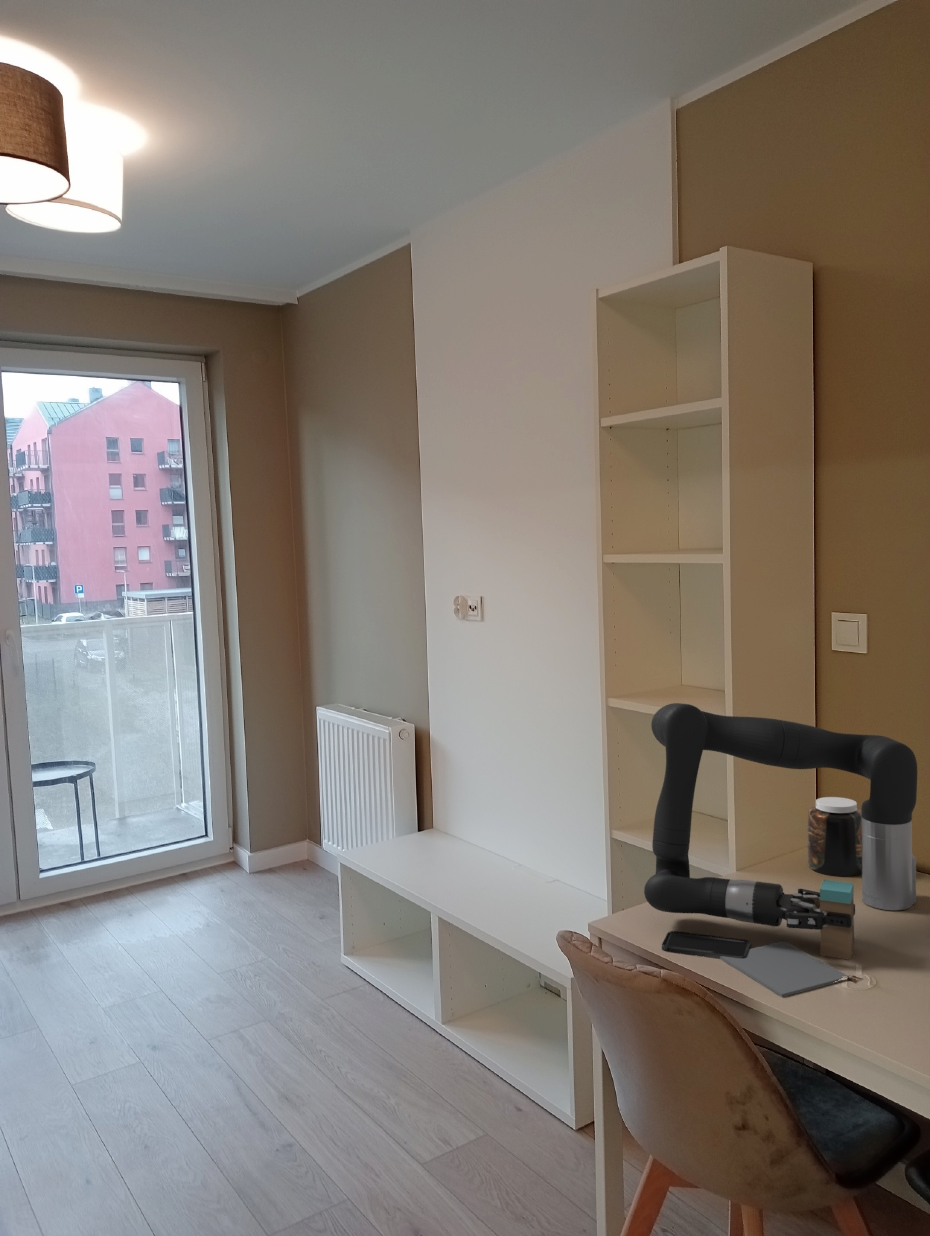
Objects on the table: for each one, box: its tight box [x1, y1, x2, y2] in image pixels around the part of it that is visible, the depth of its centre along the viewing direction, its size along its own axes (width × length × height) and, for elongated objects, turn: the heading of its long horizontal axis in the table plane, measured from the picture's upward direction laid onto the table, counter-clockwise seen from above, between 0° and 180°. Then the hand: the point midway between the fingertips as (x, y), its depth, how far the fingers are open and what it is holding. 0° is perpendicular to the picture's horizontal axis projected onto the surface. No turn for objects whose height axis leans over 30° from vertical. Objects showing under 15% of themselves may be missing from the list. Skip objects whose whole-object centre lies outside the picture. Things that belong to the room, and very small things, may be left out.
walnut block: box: [819, 879, 855, 960], centre depth 170 cm, size 5×5×12 cm
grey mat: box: [720, 940, 850, 998], centre depth 165 cm, size 14×16×1 cm
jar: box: [807, 796, 862, 877], centre depth 212 cm, size 12×12×15 cm
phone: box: [661, 930, 751, 960], centre depth 174 cm, size 8×1×15 cm
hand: (852, 915), depth 169 cm, fingers closed on walnut block, 5 cm apart
